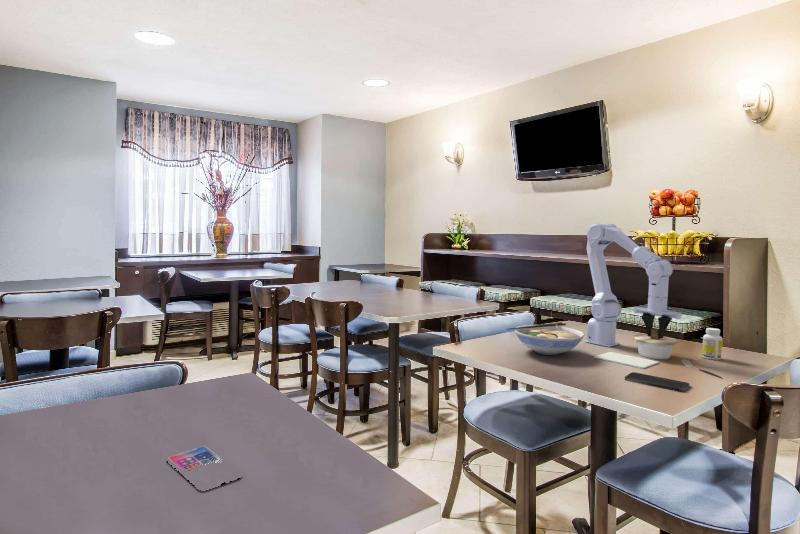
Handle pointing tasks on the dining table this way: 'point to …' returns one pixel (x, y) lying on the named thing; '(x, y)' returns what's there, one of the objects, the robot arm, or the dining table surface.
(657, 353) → the ramekin
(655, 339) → the lid
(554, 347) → the ramen bowl
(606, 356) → the mat
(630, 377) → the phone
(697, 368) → the fork
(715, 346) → the supplement bottle
